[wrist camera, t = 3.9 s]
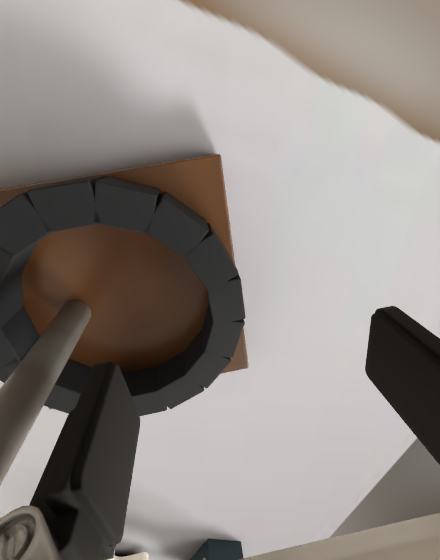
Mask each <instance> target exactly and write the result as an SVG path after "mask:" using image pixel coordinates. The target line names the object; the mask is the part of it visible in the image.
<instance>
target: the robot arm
mask: <svg viewBox="0 0 440 560" xmlns="http://www.w3.org/2000/svg"><path fill="white" fill-rule="evenodd" d="M365 370H366V374H367V376H368V377H369V379H370V380H371V381H372V382H373V384H374V385H375V386H376V387H377V389H378V390H379V391H380V392H381V393H382V395H383V396H384V397H385V398H386V400H387V401H388V402H389V403H390V405H391V406H392V407H393V408H394V409H395V411H396V412H397V413H398V414H399V416H400V417H401V418H402V419H403V420H404V422H405V423H406V424H407V425H408V427H409V428H410V429H411V430H412V432H413V433H414V434H415V435H416V436H417V438H418V439H419V440H420V441H421V443H422V444H423V445H424V446H425V447H426V449H427V450H428V451H429V452H430V454H431V455H432V456H433V457H434V459H435V460H436V461H437V462H438V463H439V464H440V339H439V338H438V337H437V336H435V335H434V334H433V333H431V332H430V331H428V330H427V329H426V328H424V327H423V326H422V325H420V324H419V323H418V322H416V321H415V320H414V319H412V318H411V317H409V316H408V315H407V314H405V313H404V312H403V311H401V310H400V309H399V308H397V307H395V306H390V307H385V308H380V309H377V310H376V311H375V314H373V315H372V317H371V325H370V333H369V341H368V350H367V358H366V366H365ZM139 428H140V417H139V414H138V411H137V409H136V406H135V404H134V401H133V399H132V397H131V394H130V392H129V389H128V387H127V384H126V382H125V379H124V377H123V375H122V372H121V370H120V367H119V366H118V365H114V364H113V363H112V362H105V363H100V364H95V365H93V367H92V369H91V371H90V373H89V376H88V378H87V381H86V383H85V385H84V388H83V390H82V393H81V395H80V397H79V400H78V402H77V405H76V407H75V409H73V410H72V411H71V412H70V413H69V415H68V417H67V419H66V422H65V424H64V426H63V428H62V431H61V433H60V435H59V438H58V440H57V442H56V445H55V447H54V449H53V452H52V454H51V456H50V459H49V461H48V463H47V465H46V468H45V470H44V472H43V475H42V477H41V479H40V482H39V484H38V486H37V489H36V491H35V493H34V496H33V498H32V500H31V502H30V505H29V506H22V507H20V508H17V509H15V510H13V511H11V512H10V513H8V514H7V515H5V516H4V517H2V518H1V519H0V560H108V559H112V558H114V552H115V546H116V544H118V543H120V542H121V539H122V536H123V530H124V524H125V517H126V511H127V505H128V498H129V492H130V485H131V479H132V473H133V466H134V460H135V453H136V447H137V441H138V434H139ZM240 560H440V513H437V514H432V515H428V516H424V517H419V518H415V519H411V520H407V521H402V522H397V523H393V524H389V525H384V526H380V527H376V528H372V529H367V530H363V531H359V532H354V533H351V534H346V535H342V536H337V537H334V538H329V539H325V540H320V541H316V542H312V543H308V544H303V545H299V546H295V547H291V548H286V549H282V550H278V551H274V552H269V553H265V554H261V555H257V556H253V557H249V558H245V559H240Z"/></svg>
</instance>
